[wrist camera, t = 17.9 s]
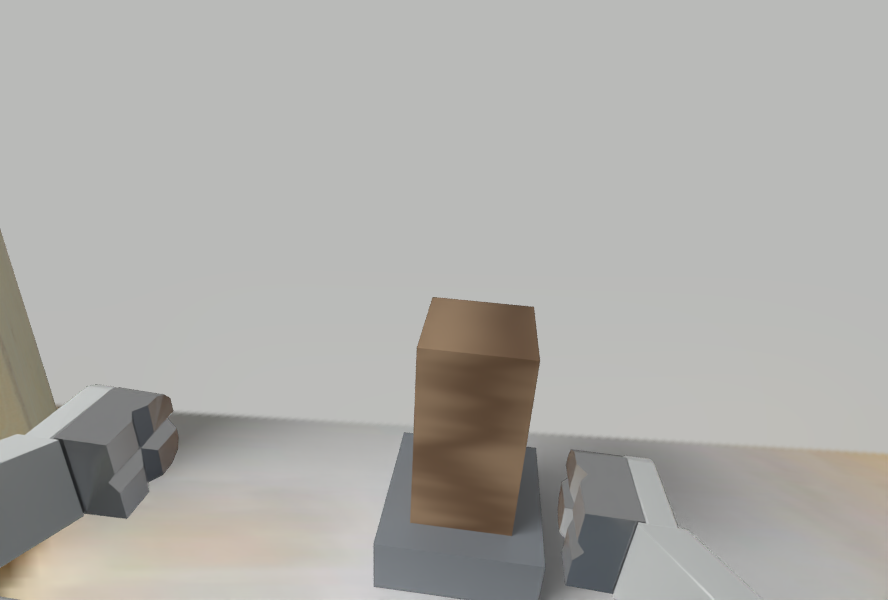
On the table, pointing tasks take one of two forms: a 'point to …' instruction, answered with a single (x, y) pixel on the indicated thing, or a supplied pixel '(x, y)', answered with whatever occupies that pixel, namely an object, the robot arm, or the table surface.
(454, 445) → the walnut brick
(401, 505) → the base brick
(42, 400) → the tall pale wood block
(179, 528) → the table surface
